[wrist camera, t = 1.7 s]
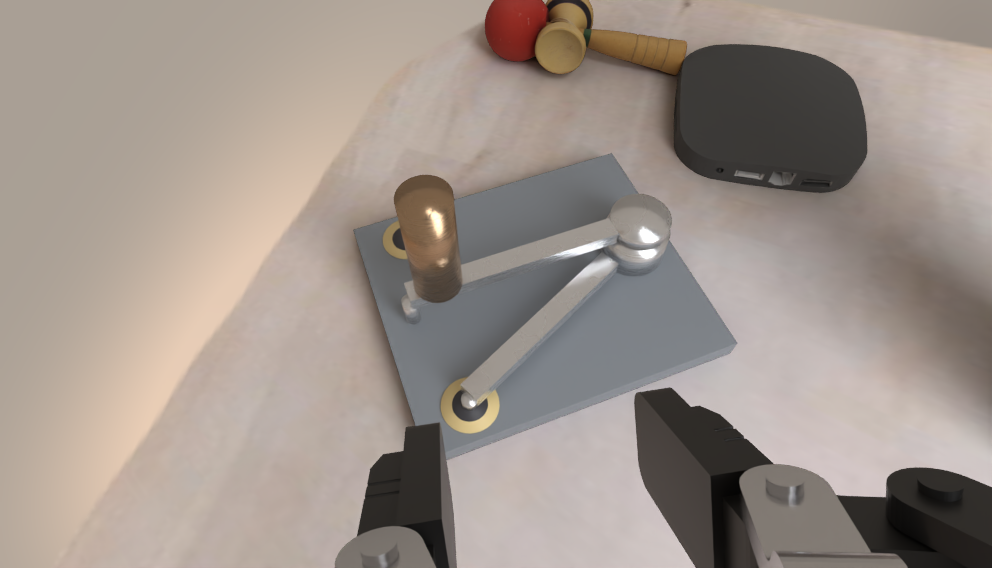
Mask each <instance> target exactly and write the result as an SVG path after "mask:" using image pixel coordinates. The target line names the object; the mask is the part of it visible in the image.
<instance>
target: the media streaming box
mask: <svg viewBox="0 0 992 568" xmlns="http://www.w3.org/2000/svg"><path fill="white" fill-rule="evenodd" d="M674 148H675V151H676V153H677V155H678V157H679V158H680V160H681V161H682V162H683V163H684V164H685V165H686V166H687V167H688V168H690V169H691V170H693V171H694V172H696V173H698V174H700V175H702V176H705V177H708V178H712V179H718V180H723V181H729V182H736V183H742V184H749V185H756V186H763V187H771V188H779V189H788V190H798V191H808V192H820V193H822V192H830V191H834V190H837V189H840V188H842V187H844V186H845V185H846V184H848V183H849V182H850V180H851V179H852V178H853V176H854V175H855V173H856V172H857V171H858V169H859V168H860V166H861V165H862V163H863V162H864V160H865V158H866V155H867V131H866V122H865V115H864V110H863V105H862V101H861V98H860V95H859V92H858V89H857V86H856V84H855V82H854V80H853V79H852V78H851V77H850V76H849V75H848V74H847V73H846V72H845V71H844V70H842V69H841V68H839V67H838V66H836V65H835V64H833V63H831V62H829V61H827V60H825V59H823V58H821V57H818V56H816V55H812V54H808V53H804V52H800V51H795V50H790V49H784V48H778V47H771V46H760V45H741V44H728V45H713V46H708V47H704V48H701V49H699V50H696V51H694V52H693V53H691V54H689V55H688V56H687V57H686V58H685V60H684V61H683V64H682V68H681V71H680V74H679V78H678V82H677V89H676V98H675V110H674ZM750 179H751V180H750ZM757 180H758V181H757Z"/></svg>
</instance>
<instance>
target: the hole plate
mask: <svg viewBox="0 0 992 568" xmlns="http://www.w3.org/2000/svg"><path fill="white" fill-rule="evenodd" d="M631 194H638V192H637V191H636V189H635V188H634V186H633V185H632V183H631V182H630V180H629V179H628V177H627V175H626V174H625V172H624V171H623V169H622V168H621V166H620V165H619V163H618V162H617V160H616V159H615V157H614V156H613V154H612V153H611V154H608V155H604V156H601V157H597V158H594V159H591V160H587V161H584V162H581V163H577V164H574V165H570V166H567V167H564V168H560V169H557V170H554V171H550V172H547V173H543V174H540V175H537V176H533V177H530V178H527V179H523V180H520V181H516V182H513V183H510V184H506V185H503V186H500V187H496V188H493V189H489V190H486V191H483V192H479V193H476V194H473V195H469V196H466V197H462V198H459V199H456V200H454V205H455V214H456V224H457V233H458V242H459V251H460V261H461V265H462V264H466V263H469V262H472V261H475V260H478V259H481V258H485V257H488V256H491V255H494V254H497V253H500V252H503V251H507V250H510V249H513V248H516V247H519V246H522V245H525V244H529V243H532V242H535V241H538V240H541V239H544V238H548V237H551V236H554V235H557V234H560V233H563V232H566V231H570V230H573V229H576V228H579V227H582V226H585V225H588V224H592V223H595V222H598V221H601V220H604V219H606V218H607V217H608V215H609V214H610V212H611V209H612V207H613V205H614V204H615V202H616V201H617V200H619V199H620V198H622V197H624V196H627V195H631ZM353 231H354V234H355V237H356V240H357V243H358V246H359V249H360V253H361V256H362V259H363V262H364V265H365V268H366V271H367V275H368V278H369V281H370V284H371V287H372V290H373V293H374V297H375V300H376V303H377V306H378V309H379V312H380V315H381V319H382V322H383V325H384V328H385V331H386V334H387V337H388V341H389V344H390V347H391V350H392V353H393V356H394V359H395V363H396V366H397V369H398V372H399V375H400V378H401V381H402V385H403V388H404V391H405V394H406V397H407V400H408V403H409V407H410V410H411V413H412V416H413V419H414V422H415V425H416V426H418V425H425V424H431V423H438V422H440V424H441V428H442V435H443V441H444V448H445V455H446V460H448V459H451V458H453V457H456V456H459V455H461V454H464V453H467V452H469V451H472V450H475V449H477V448H480V447H483V446H485V445H488V444H491V443H493V442H496V441H499V440H501V439H504V438H507V437H509V436H512V435H515V434H517V433H520V432H522V431H525V430H528V429H530V428H533V427H536V426H538V425H541V424H544V423H546V422H549V421H552V420H554V419H557V418H560V417H562V416H565V415H568V414H570V413H573V412H576V411H578V410H581V409H584V408H586V407H589V406H591V405H594V404H597V403H599V402H602V401H605V400H607V399H610V398H613V397H615V396H618V395H621V394H623V393H626V392H629V391H631V390H634V389H637V388H639V387H642V386H645V385H647V384H650V383H653V382H655V381H658V380H660V379H663V378H666V377H668V376H671V375H674V374H676V373H679V372H682V371H684V370H687V369H690V368H692V367H695V366H698V365H700V364H703V363H706V362H708V361H711V360H714V359H716V358H719V357H721V356H724V355H727V354H729V353H731V351H732V350H733V349H734V347H735V346H736V344H737V342H736V340H735V339H734V337H733V336H732V334H731V333H730V331H729V330H728V328H727V327H726V325H725V324H724V322H723V321H722V319H721V318H720V316H719V315H718V313H717V312H716V310H715V308H714V307H713V305H712V304H711V302H710V301H709V299H708V298H707V296H706V295H705V293H704V292H703V290H702V289H701V287H700V286H699V284H698V283H697V281H696V280H695V278H694V277H693V275H692V274H691V272H690V271H689V269H688V268H687V266H686V265H685V263H684V262H683V260H682V259H681V257H680V256H679V254H678V253H677V251H676V250H675V248H674V247H673V245H672V244H671V242H670V240H669V241H668V244H667V246H666V249H665V252H664V254H663V257H662V259H661V262H660V264H659V265H658V267H657V268H656V269H655V270H654V271H652V272H651V273H649V274H646V275H643V276H638V277H631V276H625V275H621V274H619V273H617V272H616V273H615V274H614V275H613V276H612V277H611V278H610V279H609V280H608V281H607V282H606V283H605V284H604V285H603V286H602V287H601V288H600V289H598V290H597V291H596V292H595V293H594V294H593V295H592V296H591V297H590V298H589V299H588V300H587V301H586V302H585V303H584V304H583V305H582V306H581V307H580V308H579V309H578V310H577V311H576V312H575V313H574V314H573V315H572V316H571V317H570V318H569V319H567V320H566V321H565V322H564V323H563V324H562V325H561V326H560V327H559V328H558V329H557V330H556V331H555V332H554V333H553V334H552V335H551V336H550V337H549V338H548V339H547V340H546V341H545V342H544V343H543V344H542V345H541V346H540V347H539V348H538V349H536V350H535V351H534V352H533V353H532V354H531V355H530V356H529V357H528V358H527V359H526V360H525V361H524V362H523V363H522V364H521V365H520V366H519V367H518V368H517V369H516V370H515V371H514V372H513V373H512V374H511V375H510V376H509V377H508V378H507V379H505V380H504V381H503V382H502V383H501V384H500V385H499V386H498V387H497V388H496V389H495V390H494V391H493V392H492V393H491V394H490V395H489V396H488V397H487V398H486V399H485V400H484V401H483V402H482V403H481V404H480V405H479V406H477V408H476V409H474V410H472V411H467V410H465V409H464V408H463V407H462V403H461V396H462V394H463V392H462V391H461V387H460V384H461V383H462V382H463V381H465V380H466V379H467V378H468V377H469V376H470V375H471V374H472V373H473V372H474V371H475V370H476V369H477V368H478V367H480V366H481V365H482V364H483V363H484V362H485V361H486V360H487V359H488V358H489V357H490V356H491V355H492V354H493V353H494V352H496V351H497V350H498V349H499V348H500V347H501V346H502V345H503V344H504V343H505V342H506V341H507V340H508V339H509V338H511V337H512V336H513V335H514V334H515V333H516V332H517V331H518V330H519V329H520V328H521V327H522V326H523V325H524V324H526V323H527V322H528V321H529V320H530V319H531V318H532V317H533V316H534V315H535V314H536V313H537V312H538V311H539V310H541V309H542V308H543V307H544V306H545V305H546V304H547V303H548V302H549V301H550V300H551V299H552V298H553V297H554V296H555V295H557V294H558V293H559V292H560V291H561V290H562V289H563V288H564V287H565V286H566V285H567V284H568V283H569V282H570V281H572V280H573V279H574V278H575V277H576V276H577V275H578V274H579V273H580V272H581V271H582V270H583V269H584V268H585V267H587V266H588V265H589V264H590V263H591V262H592V261H593V260H594V259H595V258H596V257H597V256H598V255H599V254H600V249H596V250H593V251H590V252H587V253H584V254H581V255H578V256H575V257H572V258H569V259H566V260H563V261H560V262H557V263H554V264H551V265H547V266H544V267H541V268H538V269H535V270H532V271H529V272H526V273H523V274H520V275H517V276H514V277H511V278H508V279H505V280H502V281H498V282H495V283H492V284H489V285H486V286H483V287H480V288H477V289H474V290H471V291H468V292H465V293H462V294H459V295H456V296H455V297H454V298H452V299H451V300H449V301H446V302H443V303H431V304H428V305H425V306H422V307H419V309H420V313H421V320H420V322H419V323H417V324H409V323H408V322H407V320H406V317H405V313H404V310H403V306H402V303H401V299H402V297H403V296H404V295H406V294H407V293H406V289H405V285H404V283H406V282H409V281H412V275H411V271H410V267H409V263H408V259H407V254H406V250H405V246H404V242H403V237H402V233H401V229H400V225H399V221H398V217H395V218H392V219H388V220H385V221H381V222H378V223H375V224H371V225H368V226H365V227H361V228H358V229H354V230H353Z"/></svg>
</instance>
